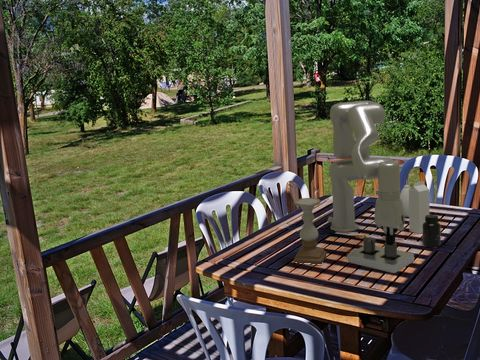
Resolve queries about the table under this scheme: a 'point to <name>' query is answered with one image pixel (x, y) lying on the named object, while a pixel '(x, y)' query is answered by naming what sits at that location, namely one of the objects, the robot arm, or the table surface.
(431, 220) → the supplement bottle
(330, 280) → the table surface
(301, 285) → the table surface
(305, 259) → the candle holder
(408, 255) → the jig
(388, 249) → the dark grey cylinder
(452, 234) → the table surface
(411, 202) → the milk
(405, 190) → the sauce bottle
